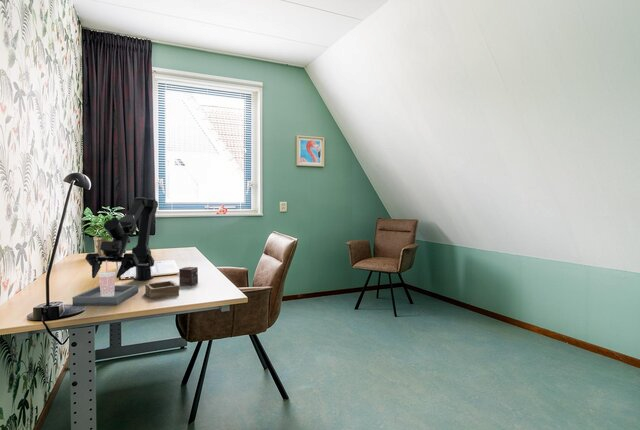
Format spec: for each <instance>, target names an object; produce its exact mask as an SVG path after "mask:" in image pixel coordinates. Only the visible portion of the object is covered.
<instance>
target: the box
mask: <svg viewBox="0 0 640 430" xmlns="http://www.w3.org/2000/svg"><path fill="white" fill-rule="evenodd" d="M178 271H179V273H178V275H179V278H178V279H179V283H178V284H179V286H190V287H191V286H194V285H196V284H198V283H199V274H198V273H199V272H198V267H196V266H195V267H194V266H185V267H181V268H179V269H178Z"/></svg>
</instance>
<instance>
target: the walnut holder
mask: <svg viewBox="0 0 640 430" xmlns="http://www.w3.org/2000/svg"><path fill="white" fill-rule="evenodd" d="M144 286H145V288H144V289H145V290H144V291H145V292H144V293H145V295H146V296H147V295H148V296H149V297H148V296H147V297H148V298H149V299H150V300H156V299H157V298H158V299H164V298H171V297H177V296H179V295H180V291H179V290H180V289H179V287H180V285H178V284H177V283H176V282H174V280H173V281H172V280H166V281H158V282H153V283H152V282H151V283H150V282H149V283H145V285H144ZM158 299H157V300H158Z"/></svg>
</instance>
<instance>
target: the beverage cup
mask: <svg viewBox="0 0 640 430" xmlns="http://www.w3.org/2000/svg"><path fill="white" fill-rule="evenodd" d="M108 268H109V267H108V262H107V260H106V262H105V271H103V272H98V273H97V276H98V281H99V285H100V293H101V297H112V296H114V290H115V285H116V276H117V272H115V271H109V270H108Z"/></svg>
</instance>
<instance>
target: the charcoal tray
mask: <svg viewBox="0 0 640 430" xmlns="http://www.w3.org/2000/svg"><path fill="white" fill-rule="evenodd" d="M138 293H139V285H138V284H134V285H133V284H132V285H130V284H124V285H120V284H115V290H114V296H112V297H101V293H100V284H98V285H97V286H94V287H92V288H90V289H88V290H85V291H83V292H81V293H79V294H77V295H75V296H73V297H72V306H118V305H120V304H122V303H123V302H125V301H127V300H128V299H130V298H132V297H134V296H135V295H137V294H138Z"/></svg>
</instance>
